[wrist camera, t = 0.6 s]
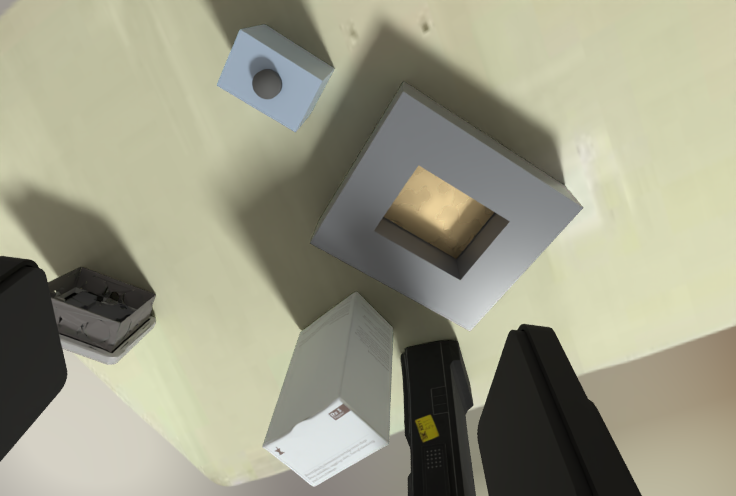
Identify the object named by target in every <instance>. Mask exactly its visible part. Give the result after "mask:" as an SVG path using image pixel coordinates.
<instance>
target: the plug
mask: <svg viewBox="0 0 736 496" xmlns="http://www.w3.org/2000/svg"><path fill="white" fill-rule="evenodd" d="M334 69H335V68H333V67H332V66H330V65H328V64H327V63H325V62H324V61H322V60H321V59H319V58H317V57H316V56H314V55H313V54H311V53H310V52H308V51H306V50H305V49H303V48H302V47H300V46H299V45H297V44H295V43H294V42H292V41H291V40H289V39H288V38H286V37H284V36H283V35H281V34H280V33H278V32H277V31H275V30H273V29H272V28H270V27H269V26H267V25H265V24H263V25H258V26H253V27H248V28H243V29H240V30H239V33H238V35H237V37H236V40H235V42H234V45H233V47H232V49H231V52H230V54H229V57H228V59H227V61H226V64H225V66H224V69H223V71H222V73H221V76H220V78H219V81H218V83H217V86H219V87H220V88H222V89H224V90H225V91H227V92H229V93H230V94H232V95H234V96H235V97H237V98H239V99H240V100H242V101H244V102H245V103H247V104H249V105H250V106H252V107H254V108H255V109H257V110H259V111H261V112H262V113H264V114H266V115H267V116H269V117H271V118H272V119H274V120H276V121H277V122H279V123H281V124H282V125H284V126H286V127H287V128H289V129H291V130H292V131H294V132H296V131H297V130H298V129H299V128H300V126H301V125H302V124H303V123H304V121H305V120H306V119H307V118H308V117H309V115H310V114H311V113H312V111H313V109H314V107H315V105H316V103H317V101H318V99H319V97H320V96H321V94H322V92H323V90H324V88H325V86H326V84H327V82H328V80H329V79H330V77H331V75H332V73H333V71H334Z"/></svg>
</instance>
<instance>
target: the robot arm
mask: <svg viewBox="0 0 736 496" xmlns="http://www.w3.org/2000/svg"><path fill="white" fill-rule="evenodd" d="M66 379H67V368H66V364H65V359H64V354H63V350H62V345H61V341H60V336H59V332H58V327H57V323H56V318H55V314H54V309H53V305H52V300H51V296H50V291H49V287H48V282H47V278H46V274H45V272H44V271H43V270H42V269H40V268H39V267H38V265H37V264H36V263H35V262H34V261H32V260H29V259H21V258H13V257H6V256H0V461H1V460H2V459H3V458H4V456H6V454H7V453H8V452H9V451H10V450H11V449H12V447H13V446H14V445H15V444H16V443H17V441H18V440H19V439H20V438H21V437H22V435H23V434H24V433H25V432H26V431H27V430H28V428H29V427H30V426H31V425H32V424H33V423H34V421H35V420H36V419H37V418H38V417H39V416H40V414H41V413H42V412H43V411H44V410H45V409H46V407H47V406H48V405H49V404H50V402H51V401H52V400H53V399H54V398H55V397H56V396H57V394H58V393H59V392H60V391H61V389H62V388H63V386H64V384H65V382H66ZM477 435H478V444H479V449H480V454H481V458H482V464H483V469H484V474H485V479H486V484H487V489H488V494H489V496H642V495H641V493H640V492H639V489H638V488H637V485H636V484H635V482H634V480H633V478H632V476H631V474H630V472H629V470H628V468H627V466H626V464H625V462H624V460H623V458H622V456H621V454H620V452H619V450H618V448H617V446H616V445H615V442H614V441H613V439H612V437H611V435H610V433H609V431H608V429H607V427H606V425H605V423H604V421H603V419H602V417H601V415H600V413H599V411H598V409H597V408H596V406H595V405H594V403H593V402H592V401H590V400H589V399H588V398H587V396H586V394H585V392H584V390H583V388H582V386H581V384H580V382H579V380H578V378H577V376H576V374H575V372H574V370H573V368H572V366H571V364H570V362H569V360H568V358H567V356H566V354H565V352H564V350H563V348H562V346H561V344H560V342H559V340H558V338H557V336H556V334H555V332H554V331H553V329H552V328H550V327H543V326H535V325H528V324H522V325H520V327H519V328H518V330H511V331H510V332H509V334H508V337H507V340H506V343H505V346H504V349H503V352H502V355H501V358H500V361H499V364H498V367H497V370H496V373H495V376H494V379H493V382H492V385H491V388H490V390H489V393H488V396H487V399H486V402H485V405H484V409H483V411H482V415H481V417H480V420H479V425H478V433H477Z"/></svg>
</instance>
